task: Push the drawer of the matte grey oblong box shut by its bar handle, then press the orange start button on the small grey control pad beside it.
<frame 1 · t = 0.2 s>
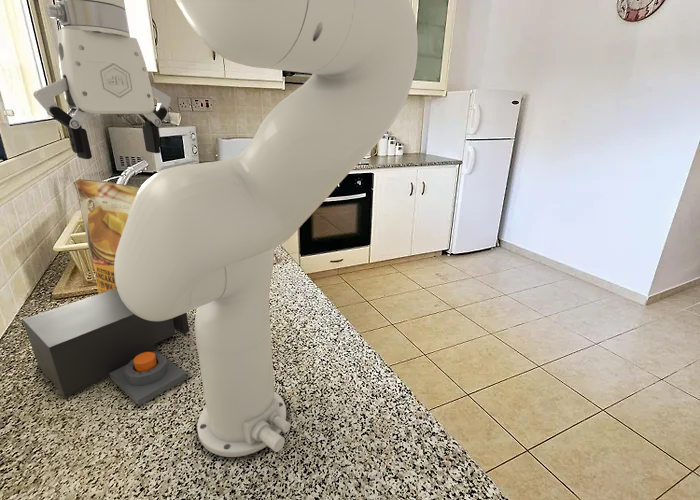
hand: (121, 155, 56), 36 cm above the countertop, tool pointing down, fingers open, 9 cm apart
soda can: (228, 337, 76), on the countertop
matte grey oblong box: (99, 359, 68), on the countertop
pancake mix bag: (127, 302, 88), on the countertop
drawer: (149, 314, 73), point 5 cm above the countertop, slide at 6.0 cm
start button: (145, 361, 62), point 3 cm above the countertop, slide at 0.1 cm
control pad: (148, 378, 63), on the countertop
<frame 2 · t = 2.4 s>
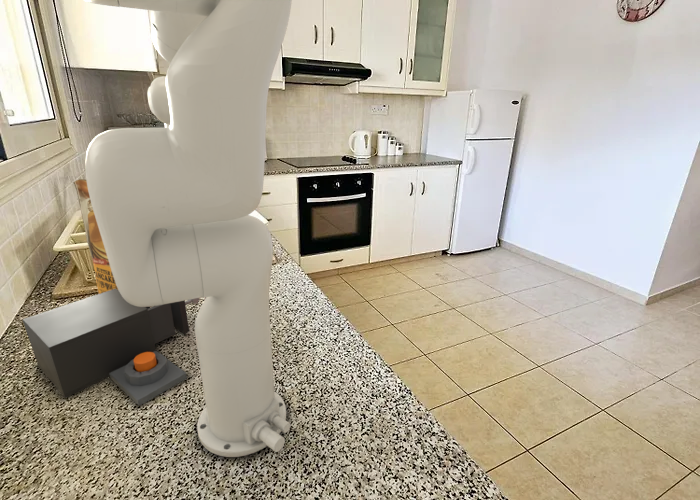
hand: (201, 238, 79), 17 cm above the countertop, tool pointing down, fingers closed
nothing on the countertop moved.
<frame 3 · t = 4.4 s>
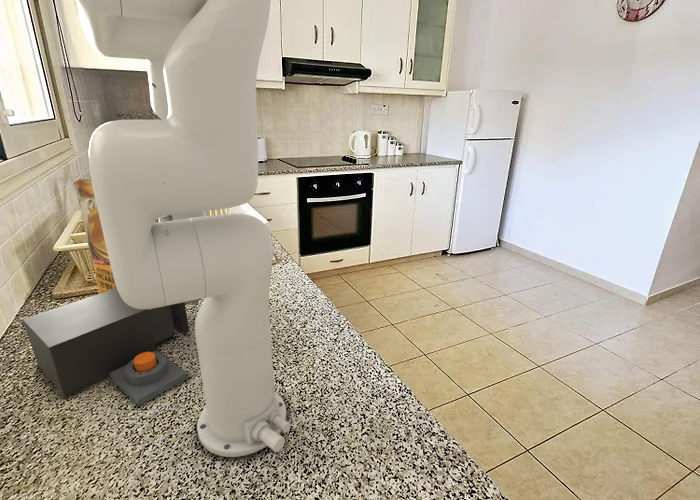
hand: (198, 297, 82), 4 cm above the countertop, tool pointing down, fingers closed
drawer: (148, 314, 73), point 5 cm above the countertop, slide at 5.9 cm, touching gripper
everything else where it was.
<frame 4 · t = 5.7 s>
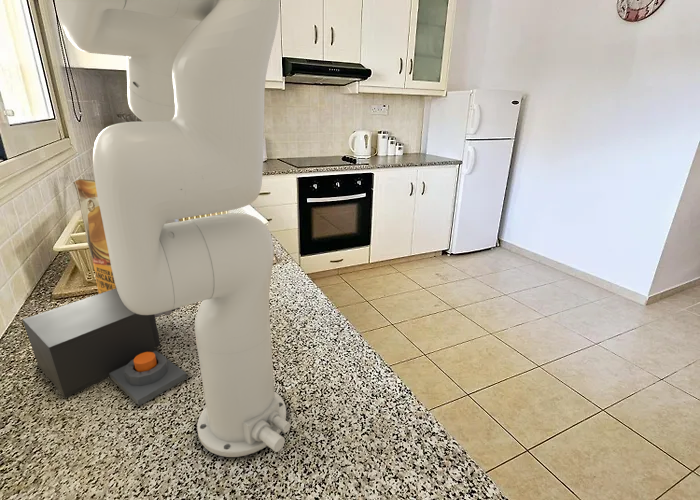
hand: (172, 308, 77), 4 cm above the countertop, tool pointing down, fingers closed
drawer: (116, 327, 69), point 5 cm above the countertop, slide at 0.0 cm, touching matte grey oblong box, gripper
everything else where it was.
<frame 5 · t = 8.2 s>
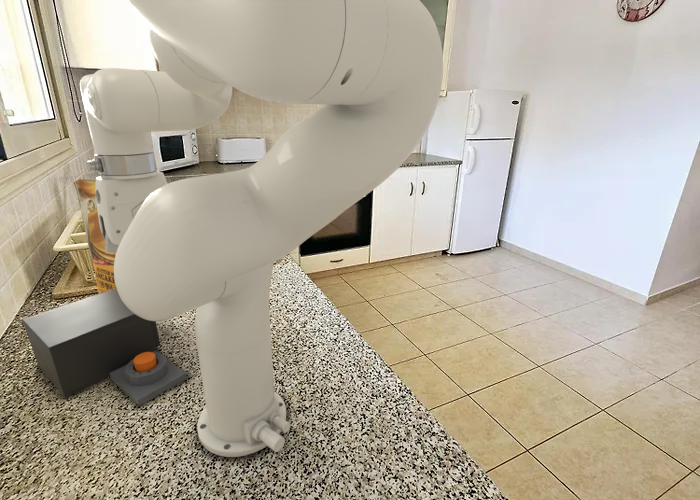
hand: (150, 277, 62), 17 cm above the countertop, tool pointing down, fingers closed
drawer: (116, 327, 69), point 5 cm above the countertop, slide at 0.0 cm, touching matte grey oblong box
everything else where it was.
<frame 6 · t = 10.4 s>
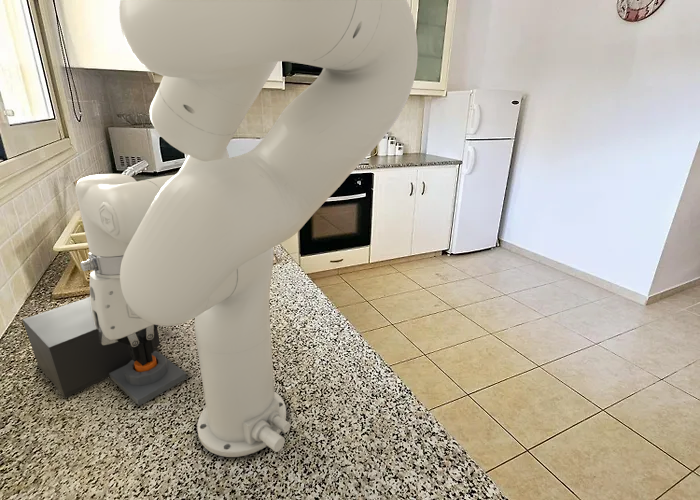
hand: (143, 359, 62), 4 cm above the countertop, tool pointing down, fingers closed
start button: (146, 365, 62), point 3 cm above the countertop, slide at -0.5 cm, touching gripper
everything else where it was.
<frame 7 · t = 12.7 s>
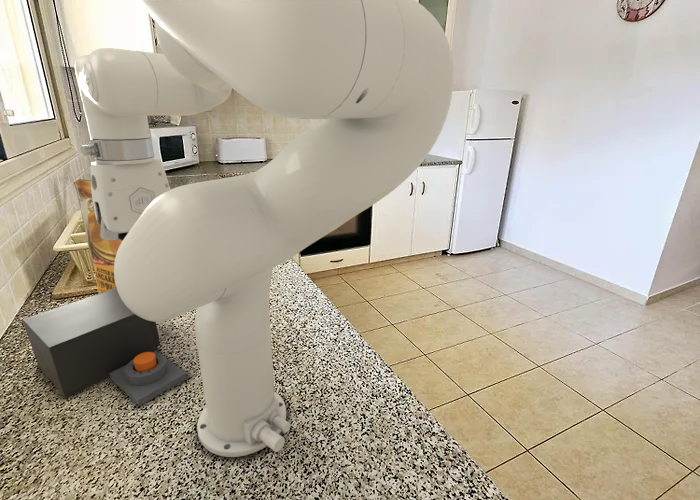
hand: (146, 266, 61), 19 cm above the countertop, tool pointing down, fingers closed
start button: (145, 361, 62), point 3 cm above the countertop, slide at 0.1 cm
everything else where it was.
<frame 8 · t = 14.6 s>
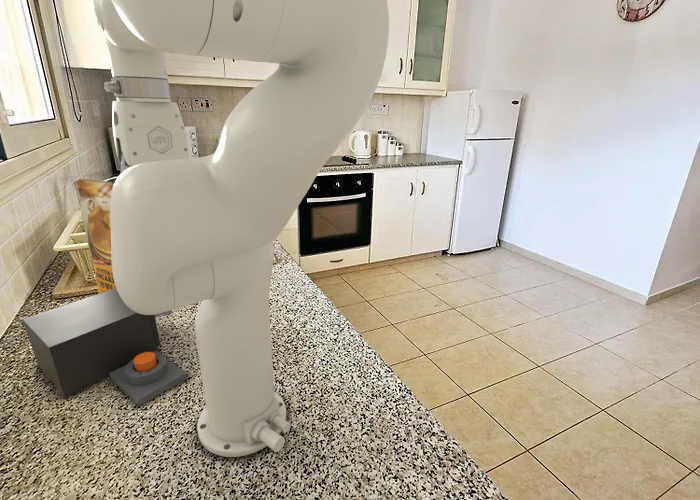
hand: (162, 206, 64), 27 cm above the countertop, tool pointing down, fingers closed
nothing on the countertop moved.
at the end: drawer slide at 0.0 cm; start button pushed in 1.0 cm at the most during the clip, back to where it started at the end; start button slide at 0.1 cm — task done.
